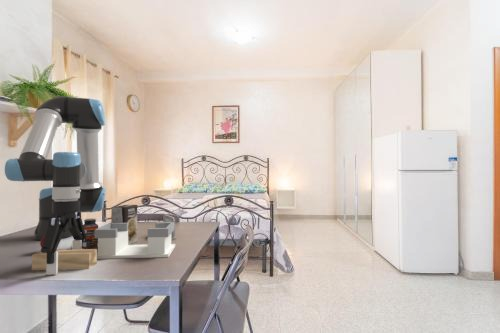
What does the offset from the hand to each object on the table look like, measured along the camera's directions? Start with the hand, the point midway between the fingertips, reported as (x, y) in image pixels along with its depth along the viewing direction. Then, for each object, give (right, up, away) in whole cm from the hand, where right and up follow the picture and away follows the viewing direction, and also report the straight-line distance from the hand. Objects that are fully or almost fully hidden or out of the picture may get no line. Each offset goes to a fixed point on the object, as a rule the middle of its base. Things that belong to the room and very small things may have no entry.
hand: (65, 266), depth 88 cm
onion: (-17, -1, +16) cm, 23 cm away
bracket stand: (+17, 0, +16) cm, 23 cm away
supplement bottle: (-5, -1, +22) cm, 22 cm away
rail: (0, -1, 0) cm, 0 cm away
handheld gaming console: (+19, -1, +37) cm, 42 cm away
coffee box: (+6, -1, +27) cm, 28 cm away
